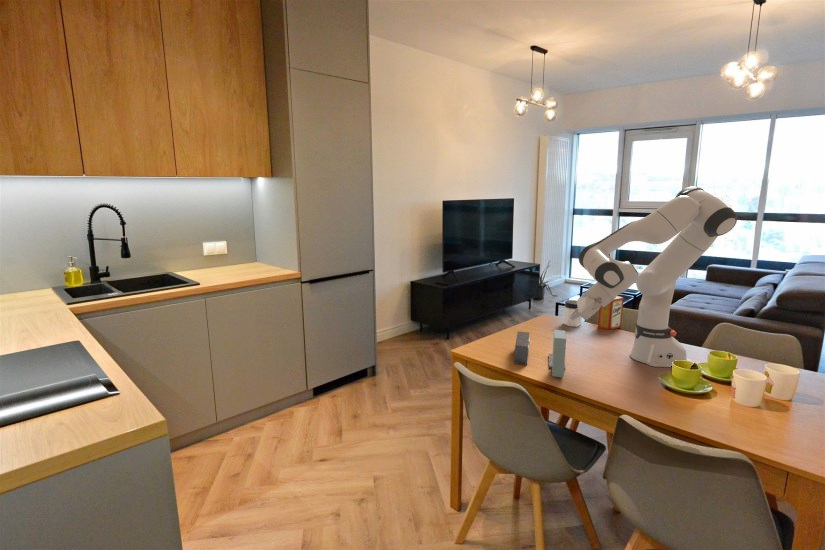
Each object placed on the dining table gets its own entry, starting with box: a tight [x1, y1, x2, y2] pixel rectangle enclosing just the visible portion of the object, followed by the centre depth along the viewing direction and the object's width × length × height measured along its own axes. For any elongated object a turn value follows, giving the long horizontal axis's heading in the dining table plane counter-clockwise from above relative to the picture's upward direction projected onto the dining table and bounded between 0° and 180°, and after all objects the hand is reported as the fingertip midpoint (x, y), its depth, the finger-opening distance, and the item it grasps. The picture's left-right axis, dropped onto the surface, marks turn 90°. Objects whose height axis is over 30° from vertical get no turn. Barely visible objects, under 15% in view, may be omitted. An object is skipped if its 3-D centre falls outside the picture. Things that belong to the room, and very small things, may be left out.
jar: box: [562, 299, 583, 328], centre depth 228 cm, size 9×8×12 cm
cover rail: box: [548, 353, 566, 371], centre depth 180 cm, size 6×14×1 cm, turn 164°
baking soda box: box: [597, 295, 624, 331], centre depth 222 cm, size 10×6×16 cm
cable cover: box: [551, 329, 567, 378], centre depth 167 cm, size 4×10×15 cm, turn 164°
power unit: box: [514, 331, 531, 366], centre depth 186 cm, size 5×18×8 cm, turn 164°
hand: (571, 318), depth 174 cm, fingers closed
